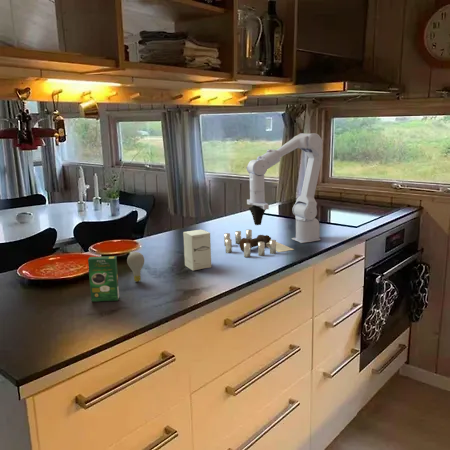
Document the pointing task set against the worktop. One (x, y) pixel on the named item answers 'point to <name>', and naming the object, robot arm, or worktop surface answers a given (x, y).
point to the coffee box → (103, 278)
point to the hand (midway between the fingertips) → (257, 224)
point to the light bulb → (136, 264)
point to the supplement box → (197, 249)
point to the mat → (279, 247)
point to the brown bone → (254, 241)
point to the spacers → (248, 244)
